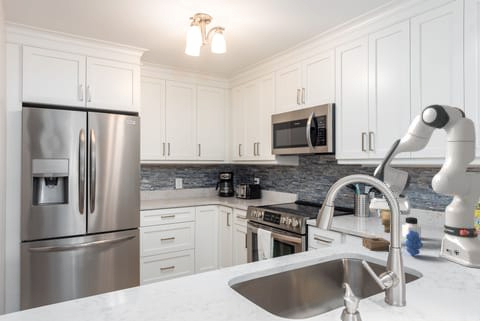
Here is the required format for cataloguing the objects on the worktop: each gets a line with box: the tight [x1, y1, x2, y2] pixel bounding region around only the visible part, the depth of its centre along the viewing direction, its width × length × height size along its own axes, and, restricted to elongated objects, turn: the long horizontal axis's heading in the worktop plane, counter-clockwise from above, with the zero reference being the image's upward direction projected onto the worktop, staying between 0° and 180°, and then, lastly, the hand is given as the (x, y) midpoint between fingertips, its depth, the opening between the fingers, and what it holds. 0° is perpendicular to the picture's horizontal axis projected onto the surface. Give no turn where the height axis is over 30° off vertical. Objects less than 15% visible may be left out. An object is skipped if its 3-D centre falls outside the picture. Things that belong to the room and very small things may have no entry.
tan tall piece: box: [381, 211, 391, 234], centre depth 168 cm, size 6×6×11 cm
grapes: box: [404, 230, 424, 257], centre depth 144 cm, size 12×7×12 cm, turn 125°
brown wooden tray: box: [361, 237, 391, 252], centre depth 159 cm, size 10×10×4 cm
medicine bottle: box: [401, 216, 422, 240], centre depth 182 cm, size 7×7×12 cm
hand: (387, 218), depth 167 cm, fingers closed on tan tall piece, 6 cm apart
